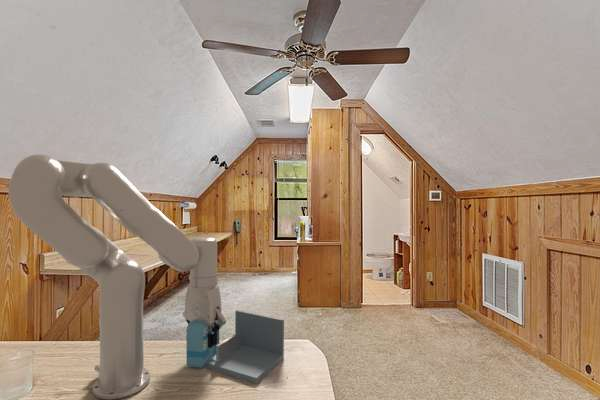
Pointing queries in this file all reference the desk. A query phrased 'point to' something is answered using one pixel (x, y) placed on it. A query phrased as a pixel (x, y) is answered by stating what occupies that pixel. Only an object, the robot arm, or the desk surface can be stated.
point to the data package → (199, 344)
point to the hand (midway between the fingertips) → (203, 342)
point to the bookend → (227, 347)
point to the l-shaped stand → (253, 347)
